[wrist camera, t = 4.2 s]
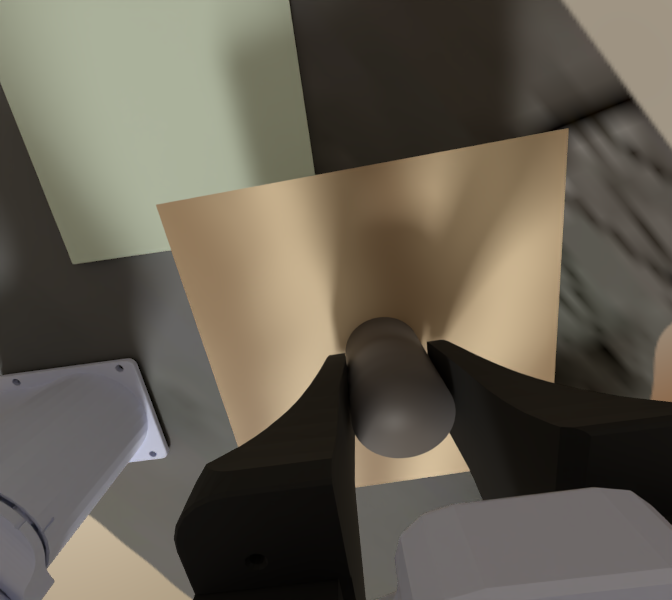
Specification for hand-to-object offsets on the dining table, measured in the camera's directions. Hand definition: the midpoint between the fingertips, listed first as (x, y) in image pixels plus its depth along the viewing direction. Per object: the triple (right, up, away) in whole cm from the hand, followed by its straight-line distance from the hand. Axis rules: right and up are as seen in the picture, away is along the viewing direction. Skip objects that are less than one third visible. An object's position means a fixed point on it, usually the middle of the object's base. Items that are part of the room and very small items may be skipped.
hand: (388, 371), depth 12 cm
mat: (-11, +13, +5) cm, 18 cm away
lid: (0, +1, +2) cm, 2 cm away
